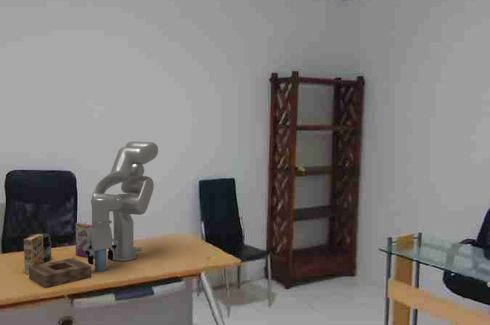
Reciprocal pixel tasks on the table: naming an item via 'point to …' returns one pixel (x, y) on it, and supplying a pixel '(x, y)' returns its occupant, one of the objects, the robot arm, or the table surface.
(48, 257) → the supplement container
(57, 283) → the peg block
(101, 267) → the peg
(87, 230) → the candy bar box
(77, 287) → the table surface
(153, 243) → the table surface
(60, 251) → the table surface
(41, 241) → the candy box
